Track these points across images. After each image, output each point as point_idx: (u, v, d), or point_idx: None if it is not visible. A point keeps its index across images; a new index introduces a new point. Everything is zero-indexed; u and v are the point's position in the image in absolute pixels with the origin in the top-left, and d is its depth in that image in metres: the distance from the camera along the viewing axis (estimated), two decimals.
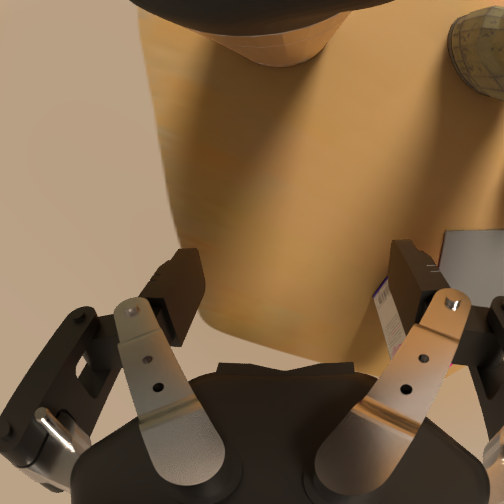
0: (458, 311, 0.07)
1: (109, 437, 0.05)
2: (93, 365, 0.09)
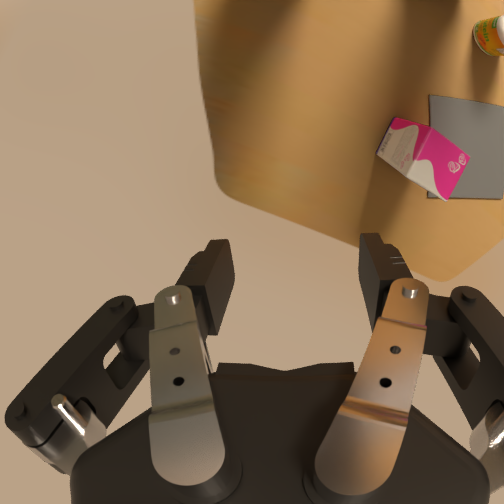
0: (413, 299, 0.08)
1: (109, 437, 0.05)
2: (125, 355, 0.09)
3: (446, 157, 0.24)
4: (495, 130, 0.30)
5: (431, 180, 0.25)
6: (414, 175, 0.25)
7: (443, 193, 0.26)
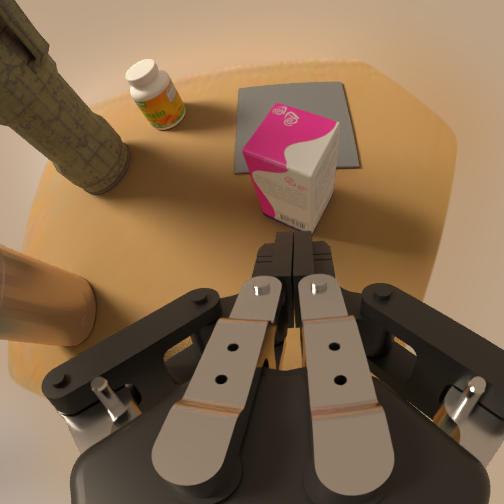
0: (318, 294, 0.08)
1: (109, 437, 0.05)
2: (196, 350, 0.09)
3: (279, 128, 0.22)
4: (266, 98, 0.37)
5: (312, 144, 0.21)
6: (308, 166, 0.20)
7: (328, 127, 0.21)
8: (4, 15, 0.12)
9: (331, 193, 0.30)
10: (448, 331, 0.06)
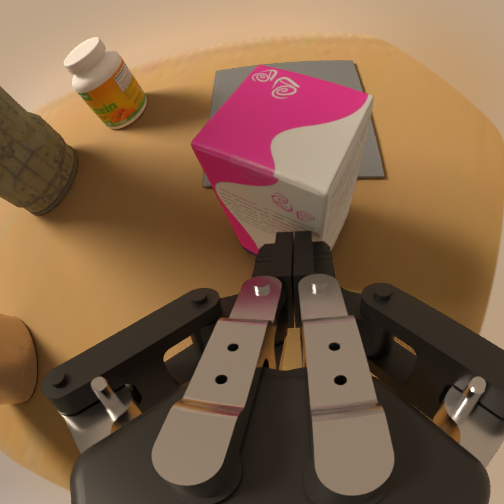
0: (318, 295, 0.08)
1: (109, 437, 0.05)
2: (197, 350, 0.09)
3: (262, 103, 0.11)
4: None
5: (326, 130, 0.10)
6: (319, 172, 0.10)
7: (354, 102, 0.11)
8: None
9: (345, 218, 0.20)
10: (447, 331, 0.06)
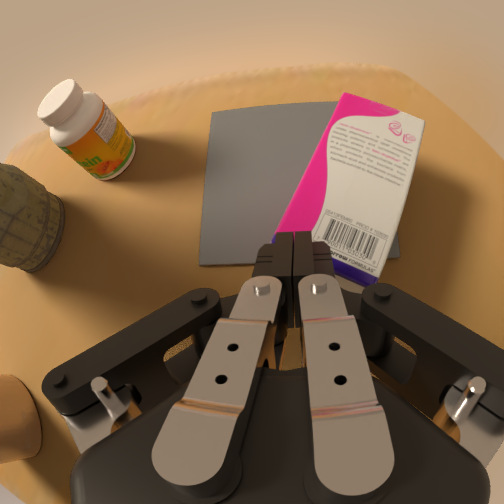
0: (318, 295, 0.08)
1: (109, 437, 0.05)
2: (197, 350, 0.09)
3: None
4: (252, 129, 0.24)
5: None
6: None
7: None
8: None
9: None
10: (448, 331, 0.06)
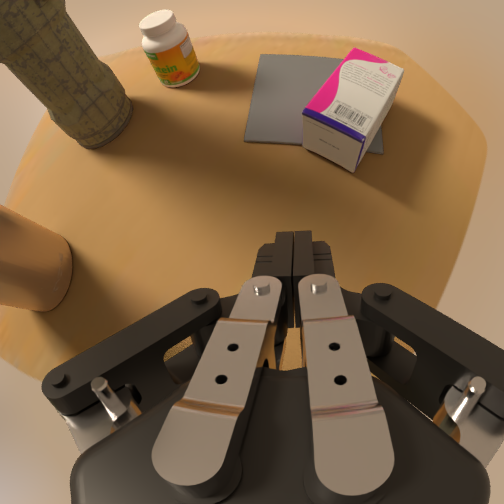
0: (318, 295, 0.08)
1: (109, 437, 0.05)
2: (197, 350, 0.09)
3: None
4: (289, 68, 0.32)
5: None
6: None
7: None
8: None
9: (359, 161, 0.26)
10: (448, 331, 0.06)
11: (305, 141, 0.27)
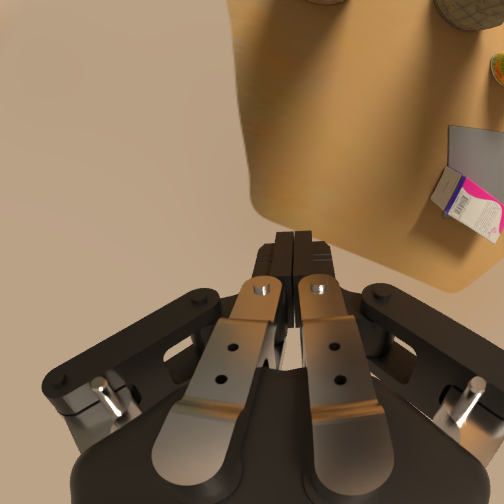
0: (318, 295, 0.08)
1: (109, 437, 0.05)
2: (197, 350, 0.09)
3: None
4: None
5: None
6: None
7: None
8: None
9: None
10: (447, 331, 0.06)
11: (448, 169, 0.35)
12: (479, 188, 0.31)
